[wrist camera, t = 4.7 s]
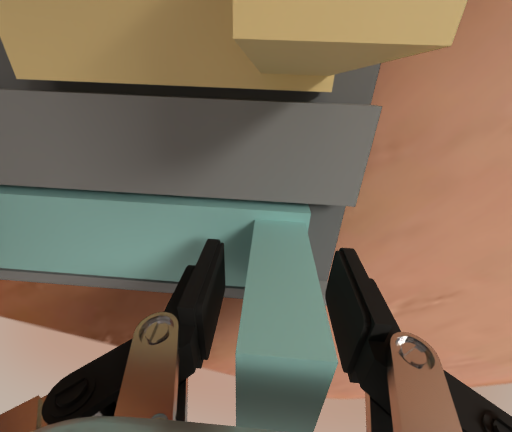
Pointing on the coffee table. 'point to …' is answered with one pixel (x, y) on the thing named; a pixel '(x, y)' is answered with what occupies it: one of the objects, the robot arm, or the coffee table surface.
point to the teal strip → (187, 253)
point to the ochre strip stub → (219, 39)
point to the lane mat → (190, 149)
